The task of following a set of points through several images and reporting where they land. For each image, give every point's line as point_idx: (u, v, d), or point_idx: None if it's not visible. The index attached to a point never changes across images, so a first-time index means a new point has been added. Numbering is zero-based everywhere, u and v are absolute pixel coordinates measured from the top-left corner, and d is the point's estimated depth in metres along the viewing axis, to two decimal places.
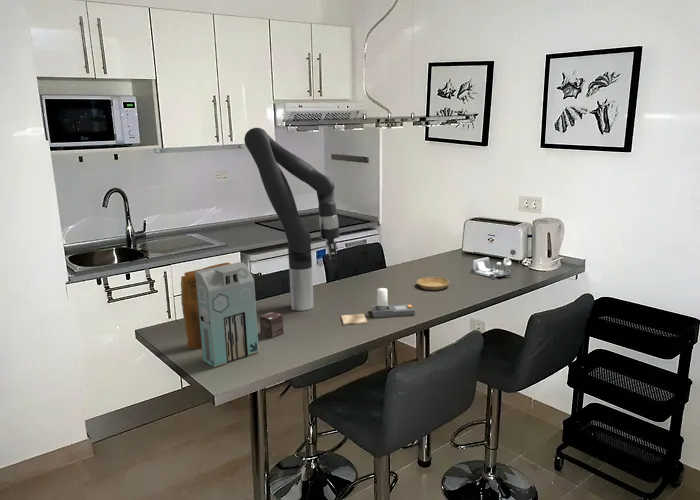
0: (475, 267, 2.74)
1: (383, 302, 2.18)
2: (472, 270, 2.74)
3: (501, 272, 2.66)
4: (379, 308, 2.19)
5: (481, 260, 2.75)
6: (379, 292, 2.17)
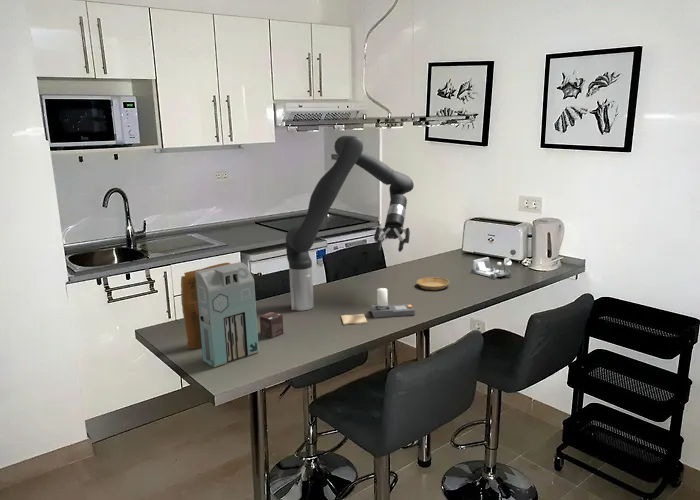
0: (475, 267, 2.74)
1: (383, 302, 2.18)
2: (472, 270, 2.74)
3: (501, 272, 2.66)
4: (379, 308, 2.19)
5: (481, 260, 2.75)
6: (379, 292, 2.17)
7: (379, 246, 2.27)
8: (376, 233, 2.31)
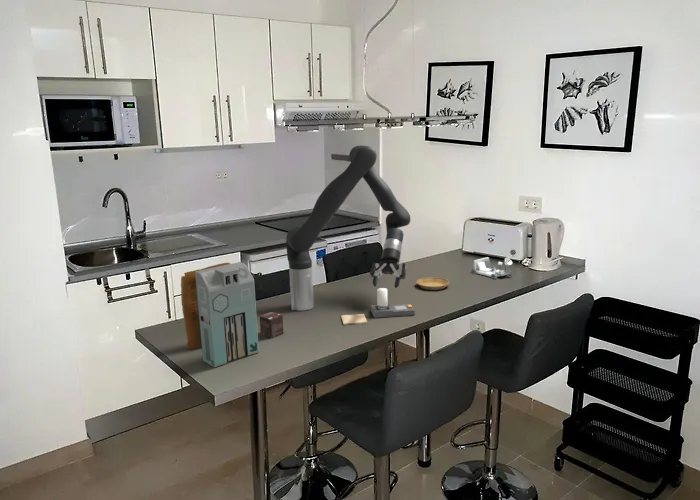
0: (476, 267, 2.74)
1: (383, 302, 2.18)
2: (473, 270, 2.74)
3: (502, 272, 2.66)
4: (379, 308, 2.19)
5: (481, 260, 2.75)
6: (379, 292, 2.17)
7: (375, 282, 2.24)
8: (372, 268, 2.27)
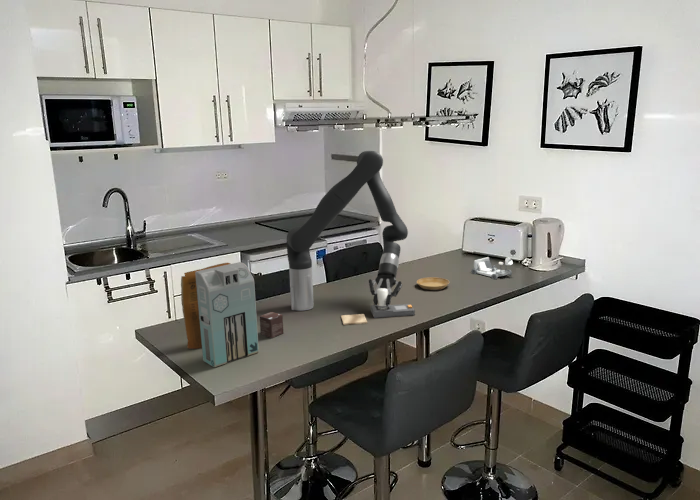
0: (476, 267, 2.74)
1: (384, 302, 2.18)
2: (473, 270, 2.74)
3: (503, 272, 2.66)
4: (379, 308, 2.19)
5: (482, 260, 2.75)
6: (379, 292, 2.17)
7: (376, 300, 2.18)
8: (371, 286, 2.22)
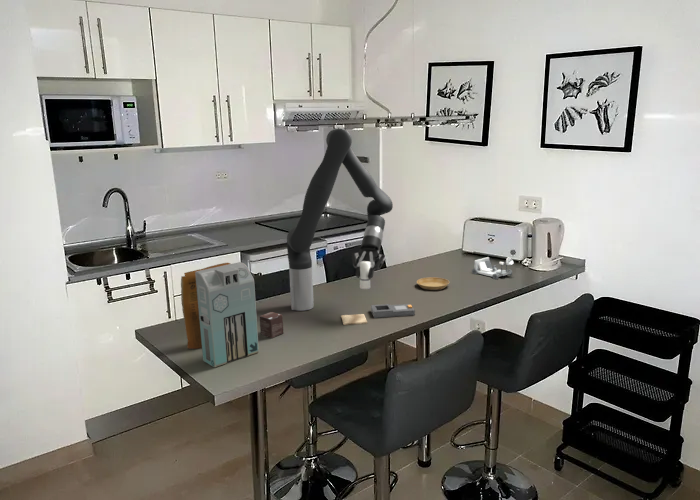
0: (476, 267, 2.74)
1: (366, 275, 2.12)
2: (474, 270, 2.74)
3: (503, 272, 2.66)
4: (361, 281, 2.13)
5: (482, 260, 2.75)
6: (362, 265, 2.11)
7: (358, 273, 2.12)
8: (353, 259, 2.16)
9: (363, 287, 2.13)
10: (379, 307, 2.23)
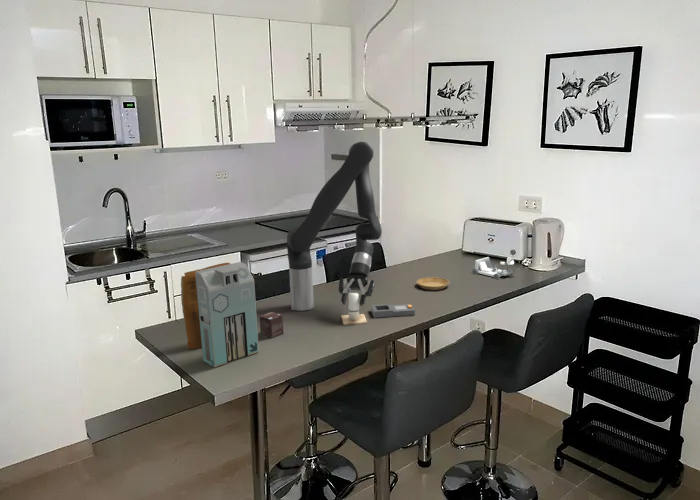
0: (477, 267, 2.74)
1: (355, 307, 2.11)
2: (474, 270, 2.73)
3: (504, 272, 2.66)
4: (350, 312, 2.12)
5: (482, 260, 2.75)
6: (350, 296, 2.11)
7: (343, 300, 2.12)
8: (340, 285, 2.16)
9: (351, 318, 2.13)
10: (379, 307, 2.23)
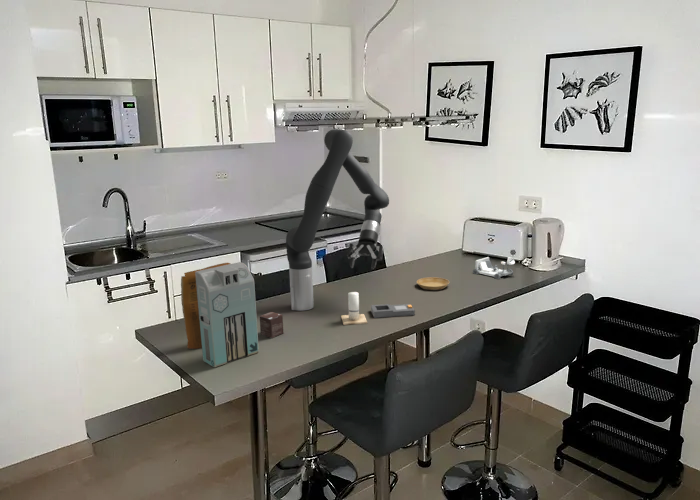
0: (477, 267, 2.73)
1: (355, 307, 2.12)
2: (475, 270, 2.73)
3: (505, 271, 2.67)
4: (350, 312, 2.12)
5: (483, 260, 2.75)
6: (350, 296, 2.11)
7: (352, 263, 2.22)
8: (349, 250, 2.26)
9: (352, 318, 2.13)
10: (379, 307, 2.23)
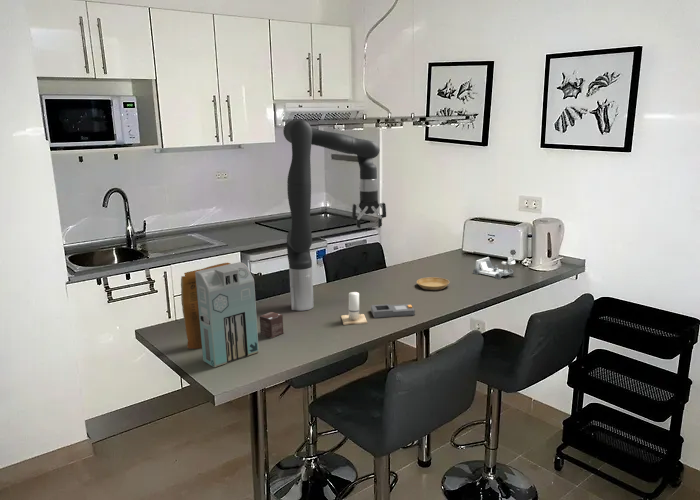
0: (478, 267, 2.73)
1: (355, 307, 2.11)
2: (475, 270, 2.73)
3: (506, 271, 2.67)
4: (350, 313, 2.12)
5: (483, 260, 2.75)
6: (351, 296, 2.11)
7: None
8: (354, 212, 2.34)
9: (352, 318, 2.13)
10: (379, 307, 2.23)
